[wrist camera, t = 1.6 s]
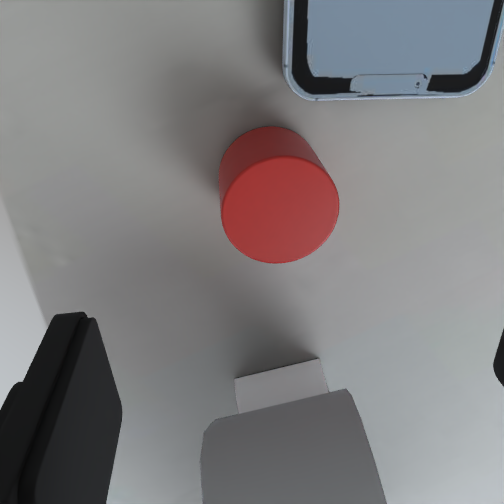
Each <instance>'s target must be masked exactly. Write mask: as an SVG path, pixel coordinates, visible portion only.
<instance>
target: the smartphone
mask: <svg viewBox="0 0 504 504" xmlns="http://www.w3.org/2000/svg"><path fill="white" fill-rule="evenodd" d="M503 28H504V0H284V22H283V57H282V70H283V75H284V79H285V81H286V83H287V84H288V86H289V87H290V88H291V89H292V91H293V92H294V93H295V94H297V95H298V96H300V97H301V98H304V99H307V100H313V101H321V100H366V99H411V98H456V97H464V96H467V95H469V94H472V93H473V92H475V91H476V90H478V89H479V88H480V87H481V86H482V85H483V84H484V83H485V82H486V81H487V79H488V78H489V76H490V74H491V72H492V70H493V67H494V64H495V60H496V56H497V52H498V48H499V44H500V40H501V36H502V32H503Z"/></svg>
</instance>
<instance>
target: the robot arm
mask: <svg viewBox="0 0 504 504" xmlns="http://www.w3.org/2000/svg"><path fill="white" fill-rule="evenodd" d="M493 368H494V372H495V375H496V377H497V378H498V380H499V381H500V382H501V384H502V385H503V386H504V329H503V332H502V336H501V339H500V342H499V346H498V349H497V352H496V355H495V359H494V363H493ZM121 422H122V405H121V401H120V398H119V394H118V391H117V388H116V384H115V381H114V377H113V374H112V371H111V367H110V364H109V361H108V357H107V354H106V351H105V347H104V344H103V341H102V337H101V334H100V331H99V327H98V324H97V321H96V319H95V318H88V317H87V315H86V314H85V312H75V313H65V314H56V315H55V316H54V317H53V318H52V320H51V322H50V325H49V327H48V329H47V331H46V333H45V335H44V337H43V340H42V342H41V344H40V346H39V348H38V350H37V353H36V355H35V357H34V359H33V361H32V363H31V365H30V367H29V370H28V372H27V374H26V376H25V378H24V380H23V382H18V383H16V384H15V385H14V386H13V387H12V389H11V390H10V392H9V393H8V396H7V398H6V400H5V402H4V404H3V406H2V408H1V410H0V504H106V500H107V495H108V490H109V485H110V479H111V474H112V469H113V464H114V459H115V453H116V448H117V443H118V438H119V433H120V428H121Z"/></svg>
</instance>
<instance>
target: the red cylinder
mask: <svg viewBox="0 0 504 504" xmlns="http://www.w3.org/2000/svg"><path fill="white" fill-rule="evenodd" d="M219 191H220V208H221V220H222V225H223V228H224V231H225V233H226V235H227V237H228V239H229V240H230V242H231V243H232V244H233V245H234V246H235V247H236V248H237V249H238V250H239V251H240V252H241V253H243V254H245V255H246V256H248V257H250V258H252V259H254V260H257V261H261V262H266V263H286V262H291V261H295V260H298V259H301V258H303V257H305V256H307V255H309V254H311V253H312V252H314V251H315V250H316V249H318V248H319V247H320V246H321V245H322V244H323V243H324V242H325V241H326V240H327V238H328V237H329V236H330V234H331V232H332V231H333V229H334V227H335V224H336V222H337V218H338V214H339V197H338V192H337V189H336V186H335V184H334V182H333V180H332V179H331V177H330V176H329V174H328V173H327V171H326V170H325V168H324V166H323V165H322V163H321V162H320V160H319V159H318V157H317V156H316V154H315V153H314V151H313V150H312V148H311V147H310V145H309V144H308V143H307V142H306V141H305V139H303V138H302V137H301V136H300V135H298V134H297V133H295V132H293V131H291V130H288V129H285V128H281V127H261V128H257V129H253V130H251V131H249V132H246V133H245V134H243V135H241V136H240V137H239V138H237V139H236V140H235V141H234V142H233V143H232V144H231V145H230V146H229V148H228V149H227V150H226V152H225V154H224V156H223V158H222V161H221V164H220V168H219Z"/></svg>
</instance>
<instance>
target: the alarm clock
mask: <svg viewBox="0 0 504 504" xmlns="http://www.w3.org/2000/svg"><path fill="white" fill-rule="evenodd" d="M234 381H235V393H236V400H237V408H238V414H237V415H232V416H228V417H224V418H220V419H216V420H215V421H213V422H212V423H211V424H210V425H209V427H208V428H207V429H206V430H205V432H204V435H203V443H202V450H201V458H200V470H201V486H202V501H203V504H387V502H386V499H385V495H384V492H383V488H382V485H381V481H380V478H379V474H378V471H377V467H376V464H375V461H374V457H373V454H372V451H371V448H370V445H369V442H368V439H367V436H366V433H365V430H364V427H363V424H362V420H361V418H360V415H359V413H358V410H357V408H356V405H355V403H354V400H353V398H352V395H351V394H350V393H349V391H348V390H347V389H342V390H338V391H333V392H329V391H328V387H327V383H326V380H325V376H324V373H323V369H322V366H321V363H320V359H315V360H311V361H307V362H303V363H298V364H294V365H290V366H286V367H282V368H278V369H274V370H269V371H265V372H261V373H257V374H253V375H249V376H245V377H241V378H236V379H234Z"/></svg>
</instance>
